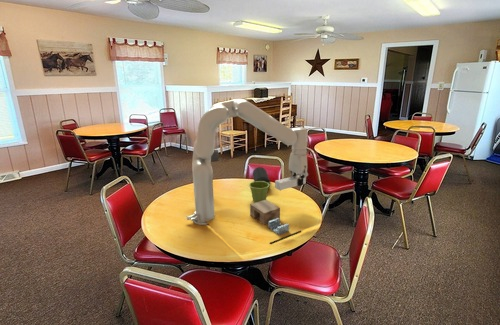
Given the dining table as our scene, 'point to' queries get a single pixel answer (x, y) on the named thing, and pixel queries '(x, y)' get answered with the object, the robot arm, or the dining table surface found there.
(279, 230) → the v-block
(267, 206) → the slotted wooden block
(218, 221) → the dining table surface
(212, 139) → the robot arm
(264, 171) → the portable speaker
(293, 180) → the rectangular steel bar
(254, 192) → the plant pot
